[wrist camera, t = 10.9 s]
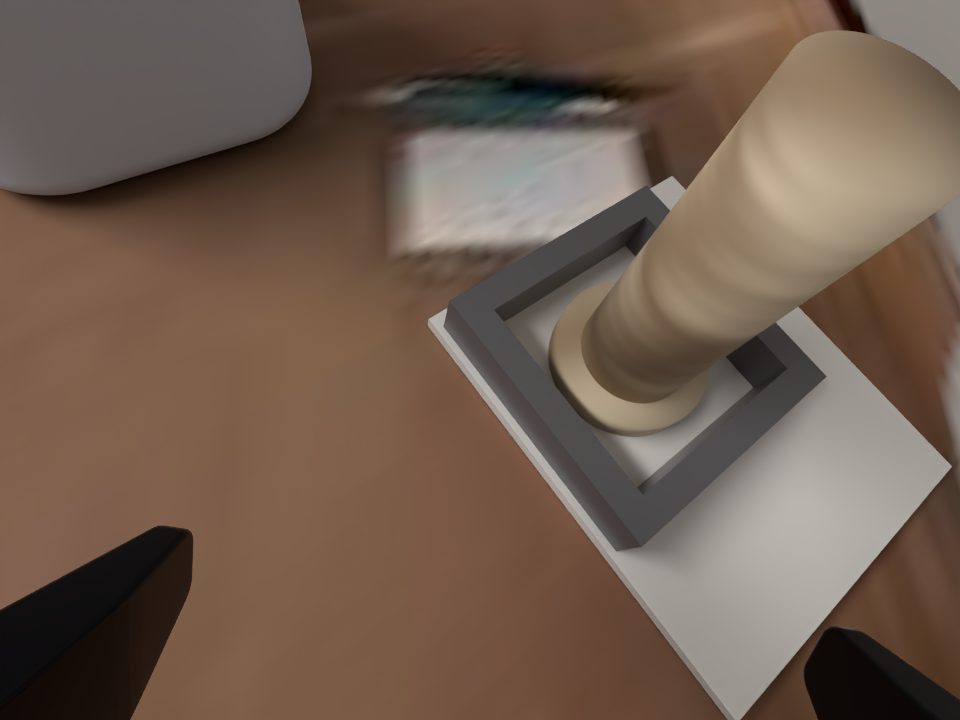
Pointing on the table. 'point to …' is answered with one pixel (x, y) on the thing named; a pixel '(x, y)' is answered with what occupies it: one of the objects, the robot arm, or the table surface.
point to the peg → (764, 227)
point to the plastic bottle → (140, 85)
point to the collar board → (703, 461)
